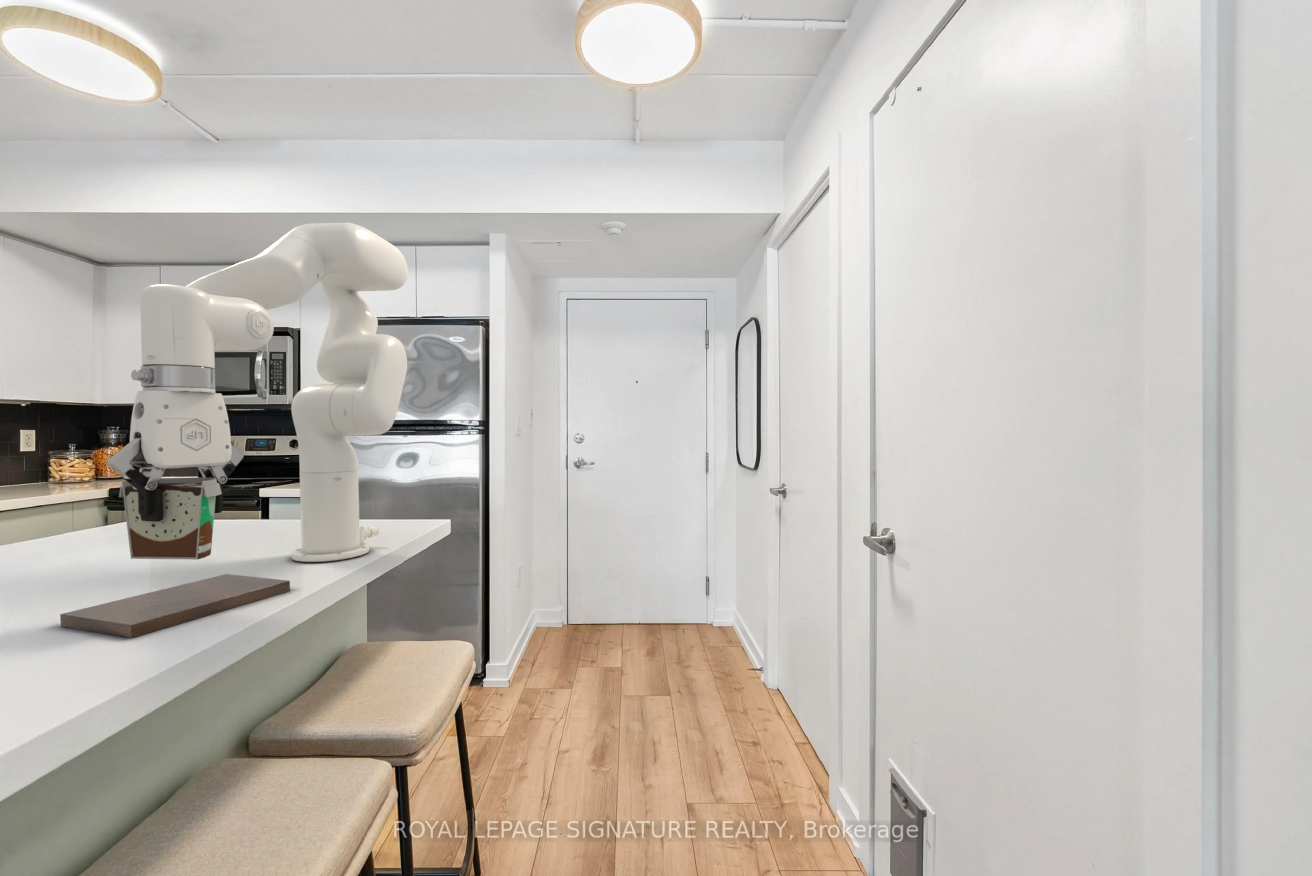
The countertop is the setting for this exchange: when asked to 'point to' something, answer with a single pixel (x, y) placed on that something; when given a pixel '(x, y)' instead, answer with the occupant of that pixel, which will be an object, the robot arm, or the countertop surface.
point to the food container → (173, 520)
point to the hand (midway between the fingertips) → (183, 515)
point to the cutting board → (172, 605)
